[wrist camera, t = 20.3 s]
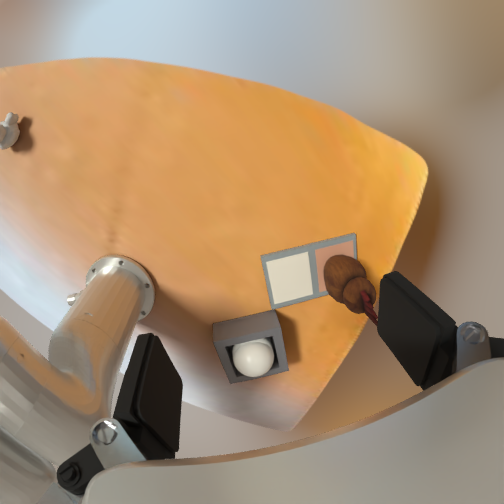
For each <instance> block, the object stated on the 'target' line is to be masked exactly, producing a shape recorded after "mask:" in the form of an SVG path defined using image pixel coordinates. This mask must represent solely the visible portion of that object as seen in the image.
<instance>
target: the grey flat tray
mask: <svg viewBox="0 0 504 504" xmlns="http://www.w3.org/2000/svg"><path fill="white" fill-rule="evenodd" d="M342 254H343V255H346V256H350V257H352V258H354V259H356V260H357V251H356V234H355V233H351V234H347V235H343V236H339V237H335V238H331V239H327V240H323V241H319V242H315V243H310V244H306V245H302V246H298V247H294V248H290V249H286V250H282V251H278V252H273V253H269V254H265V255H261V261H262V266H263V270H264V275H265V280H266V285H267V289H268V294H269V299H270V304H271V308H272V310H273V309H276V308H280V307H284V306H288V305H292V304H296V303H299V302H303V301H307V300H310V299H314V298H317V297H321V296H325V295H328V294H329V293H328V292H327V290H326V287H325V282H324V274H323V270H324V266H325V263H326V261H327V260H328V259H329V258H330V257H332V256H334V255H342Z"/></svg>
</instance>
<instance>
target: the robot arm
mask: <svg viewBox="0 0 504 504" xmlns="http://www.w3.org/2000/svg"><path fill="white" fill-rule="evenodd" d="M122 261H123V262H122ZM147 283H148V284H147ZM67 301H68V304H69V305H70V306H72V307H71V308H70V309H69V311H68V312H67V314H66V315H65V316H64V318H63V319H62V321H61V322H60V323H59V325H58V326H57V328H56V329H55V331H54V333H53V335H52V337H51V340H50V345H49V361H48V360H47V359H45V357H43V356H42V355H41V354H40V353H39V352H38V351H37V350H36V349H35V348H34V347H33V346H32V345H31V344H30V343H29V342H28V341H27V340H26V339H25V338H24V337H23V336H22V335H21V334H20V333H19V332H18V331H17V330H16V328H15V327H13V325H12V324H11V323H10V322H9V321H7V320H6V319H5V318H4V317H2V316H1V315H0V504H504V339H502V338H493V337H489V336H488V332H487V330H486V329H485V327H484V326H482V325H481V324H479V323H477V322H465V323H463V324H461V325H460V326H459V327H457V326H456V325H455V324H456V322H455V321H454V320H453V319H452V318H451V317H450V316H449V315H448V314H447V313H445V312H444V311H443V310H442V309H441V308H440V307H439V306H438V305H436V304H435V303H434V302H433V301H432V300H431V299H430V298H428V297H427V296H426V295H425V294H424V293H422V292H421V291H420V290H419V289H418V288H417V287H416V286H414V285H413V284H412V283H411V282H410V281H408V280H407V279H406V278H405V277H404V276H402V275H401V274H400V273H399V272H397V271H394V272H391V273H388V274H385V275H384V276H383V279H381V281H380V297H379V312H378V325H377V330H378V333H379V335H380V337H381V338H382V339H383V341H384V342H385V343H386V345H387V346H388V347H389V349H390V350H391V351H392V352H393V354H394V355H395V357H396V358H397V360H398V361H399V362H400V364H401V365H402V366H403V368H404V369H405V370H406V372H407V373H408V375H409V376H410V377H411V379H412V380H413V382H414V383H415V384H416V385H417V386H421V388H422V389H423V391H422V392H420V393H419V394H417V395H415V396H413V397H411V398H409V399H407V400H405V401H403V402H401V403H399V404H397V405H395V406H392V407H390V408H388V409H386V410H383V411H381V412H379V413H376V414H374V415H372V416H370V417H367V418H364V419H362V420H359V421H357V422H354V423H351V424H349V425H346V426H343V427H340V428H337V429H335V430H331V431H328V432H325V433H322V434H319V435H315V436H312V437H308V438H305V439H301V440H298V441H294V442H290V443H285V444H281V445H277V446H272V447H267V448H263V449H257V450H252V451H247V452H240V453H233V454H226V455H217V456H208V457H198V458H184V459H175V452H178V450H179V435H180V416H181V402H182V389H183V384H182V380H181V377H180V376H179V374H178V372H177V370H176V369H175V367H174V365H173V363H172V362H171V360H170V358H169V356H168V354H167V352H166V350H165V349H164V347H163V345H162V343H161V341H160V339H159V337H158V336H154V334H153V333H147V334H141V335H138V337H137V340H136V343H135V346H134V349H133V352H132V355H131V358H130V362H129V365H128V368H127V370H126V372H125V375H124V379H123V382H122V386H121V389H120V393H119V396H118V400H117V404H116V407H115V411H114V415H113V418H111V406H112V398H113V393H114V388H115V384H116V380H117V377H118V374H119V371H120V368H121V365H122V362H123V359H124V356H125V353H126V350H127V347H128V345H129V342H130V339H131V336H132V334H133V331H134V328H135V326H136V323H137V321H139V320H141V319H143V318H145V317H146V316H147V315H148V314H149V312H150V311H151V309H152V307H153V304H154V301H155V289H154V285H153V282H152V280H151V278H150V276H149V274H148V273H147V272H146V270H145V269H144V268H143V267H142V266H141V265H139V264H138V263H137V262H135V261H134V260H132V259H130V258H128V257H125V256H121V255H107V256H104V257H102V258H100V259H98V260H97V261H95V263H94V264H93V265H92V266H91V267H90V269H89V270H88V273H87V276H86V288H85V289H84V290H82V291H80V293H78V294H77V293H76V294H72V295H69V296H68V297H67ZM433 385H434V386H433ZM431 386H432V387H431ZM51 463H53V464H55V465H57V466H59V468H58V470H57V472H56V470H55V468H54V466H53V465H52V464H51Z"/></svg>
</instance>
